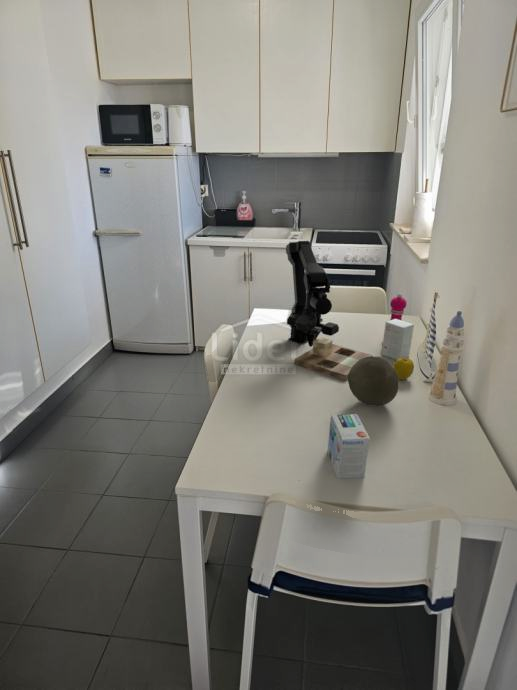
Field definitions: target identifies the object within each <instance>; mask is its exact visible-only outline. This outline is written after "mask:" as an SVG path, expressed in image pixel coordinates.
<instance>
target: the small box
mask: <svg viewBox="0 0 517 690" xmlns="http://www.w3.org/2000/svg"><path fill="white" fill-rule="evenodd" d="M414 325H415V324H414V323H411V322H408V321H404V320H402V321H401V320H398V319H393V320H390V319H389V320H387V321H385V325H384V333H383V338H382V339H383V340H382V346H381V355H383V356H385V357H388V358H391V359H393V360H396V361H397V360H398V359H399V358H409V357H410V351H411V346H412V338H413V333H414V327H415V326H414Z"/></svg>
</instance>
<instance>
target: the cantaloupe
mask: <svg viewBox="0 0 517 690" xmlns="http://www.w3.org/2000/svg"><path fill="white" fill-rule="evenodd" d="M393 366H394V365H392V363H391V362H390V361H388V360H387V359H386V358H383V357H380V356H370V357H364V358H362V359H360V360H358V361H357V362H356V363H355V364H354V365H353V366H352V368H351V370H350V372H349V375H348V379H347V381H348V382H347V384H348V387H349V389H350V391H351V393H352V395H353V396H354V397H355V398H356V400H357V401H359V402H360V403H362V404H364V405H365V406H372V407H382V406H386V405H387V404H389V403H391V402H393V400H394V399H395V397H396V396H397V394H398V391H399V388H400V387H399V385H400V384H399V383H400V381H399V380H400V379H399V378H398V374H397V372H396V371H395V369H394V368H393Z"/></svg>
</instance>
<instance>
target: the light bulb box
mask: <svg viewBox="0 0 517 690" xmlns="http://www.w3.org/2000/svg"><path fill="white" fill-rule="evenodd" d="M328 431H329V433H328V440H327V441H328V443H327V451H326V452H327V455H328V457H329V459H330V463H331V465H332V468H333V471H334V474H335V477H336V478H337V479H348V478H349V479H350V478H351V479H355V478H358V479H359V478H360V479H361V478H365V474H366V465H367V459H368V453H369V447H370V440H371V438H370V436H369V434H368V432H367V430H366V428H365V427H364V425H363V423H362V420H361V419H360V417H359V415H358V414H356V413H353V414H331V415H330V423H329V430H328Z"/></svg>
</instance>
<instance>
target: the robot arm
mask: <svg viewBox="0 0 517 690" xmlns="http://www.w3.org/2000/svg"><path fill="white" fill-rule="evenodd" d="M285 254H286V255H287V260H288V262H289V263H290V264H291V266H292V276H293V277H292V278H293V290H294V291H293V292H294V294H293V295H294V303H293V305H292V307H291V312H290V314H289V316H288V317H287V319H286V325H288V326H289V327H290V337H288V341H290V342H293V343H297V344H304V343H306V342H307V344H308V347H312V348H313V341H314V340H316V339H318V338H319V335H320V334H321V333H322V335H325V336H329V337H330V336H331V337H332V336H334V335H335V334H337V333H339V330H340V329H339V328H340V327H339V324H338V323H333V322H327V323H325V324H324V323H322V322H323V321H324V320H323V318H322V315H323V316H324V315H327V314H328V313H330V312H331V310H332V307H333V304H332V301H331V300H330V299H329V298H328V295H327V294H329V293H330V292H331V290H330V289H331V284H330V279H329V276H328V274H327V272H326V271H325V269H324V267H323V266H321V265H319V264H318V262H317V259H316V257H315V254H314V252H313V249H312V242H311V241H310V240H298V241H289V242H288V244H287V245H286V246H285Z"/></svg>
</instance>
